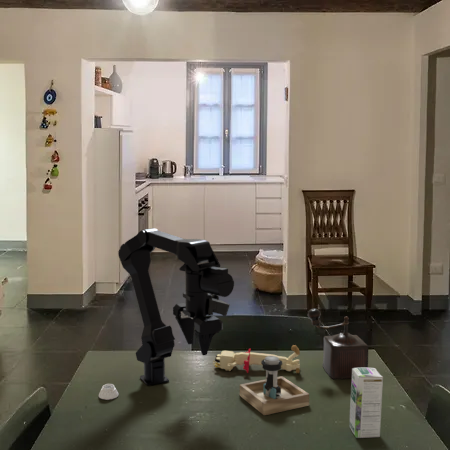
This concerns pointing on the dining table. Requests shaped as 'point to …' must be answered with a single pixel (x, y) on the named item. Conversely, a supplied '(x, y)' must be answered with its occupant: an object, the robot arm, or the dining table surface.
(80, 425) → the dining table surface
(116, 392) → the small white bowl
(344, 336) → the manual coffee grinder
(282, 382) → the oak tray
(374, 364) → the dining table surface
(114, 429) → the dining table surface
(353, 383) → the syrup box
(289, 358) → the cat figure
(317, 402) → the dining table surface
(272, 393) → the push button
